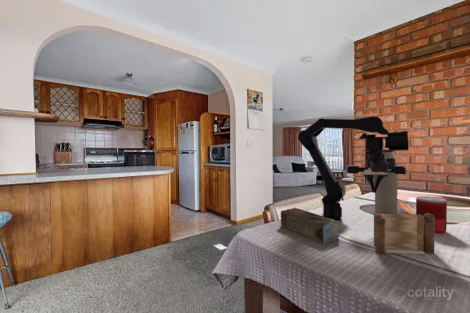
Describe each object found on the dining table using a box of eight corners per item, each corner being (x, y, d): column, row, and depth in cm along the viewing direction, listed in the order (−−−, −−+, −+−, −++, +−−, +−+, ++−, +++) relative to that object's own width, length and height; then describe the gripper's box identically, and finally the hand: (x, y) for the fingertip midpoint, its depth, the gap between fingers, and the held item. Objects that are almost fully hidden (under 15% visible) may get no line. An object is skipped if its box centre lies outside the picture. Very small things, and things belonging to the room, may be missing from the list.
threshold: (386, 252, 61) (386, 250, 61) (380, 248, 64) (380, 246, 64) (424, 253, 60) (424, 252, 60) (417, 249, 63) (417, 247, 63)
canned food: (452, 234, 73) (452, 201, 73) (424, 233, 75) (424, 200, 74) (436, 226, 81) (436, 196, 80) (411, 225, 82) (411, 195, 82)
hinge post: (425, 253, 60) (426, 214, 60) (421, 249, 63) (421, 211, 62) (436, 254, 60) (436, 214, 59) (431, 250, 62) (431, 212, 62)
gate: (420, 247, 62) (420, 214, 62) (423, 249, 61) (423, 216, 60) (373, 245, 63) (373, 213, 63) (376, 247, 62) (376, 214, 62)
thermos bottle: (372, 214, 96) (372, 149, 96) (378, 211, 102) (378, 149, 101) (394, 218, 90) (395, 149, 90) (399, 214, 96) (399, 149, 95)
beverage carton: (323, 245, 67) (323, 223, 67) (279, 226, 83) (279, 209, 83) (339, 239, 71) (339, 218, 71) (294, 223, 87) (294, 206, 87)
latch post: (376, 254, 60) (377, 220, 60) (374, 250, 62) (374, 217, 62) (386, 255, 60) (386, 220, 59) (383, 251, 62) (383, 218, 62)
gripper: (350, 151, 78) (350, 195, 79) (414, 150, 73) (413, 198, 73) (344, 151, 89) (344, 190, 89) (399, 150, 84) (399, 192, 84)
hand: (373, 192), depth 84 cm, fingers closed
